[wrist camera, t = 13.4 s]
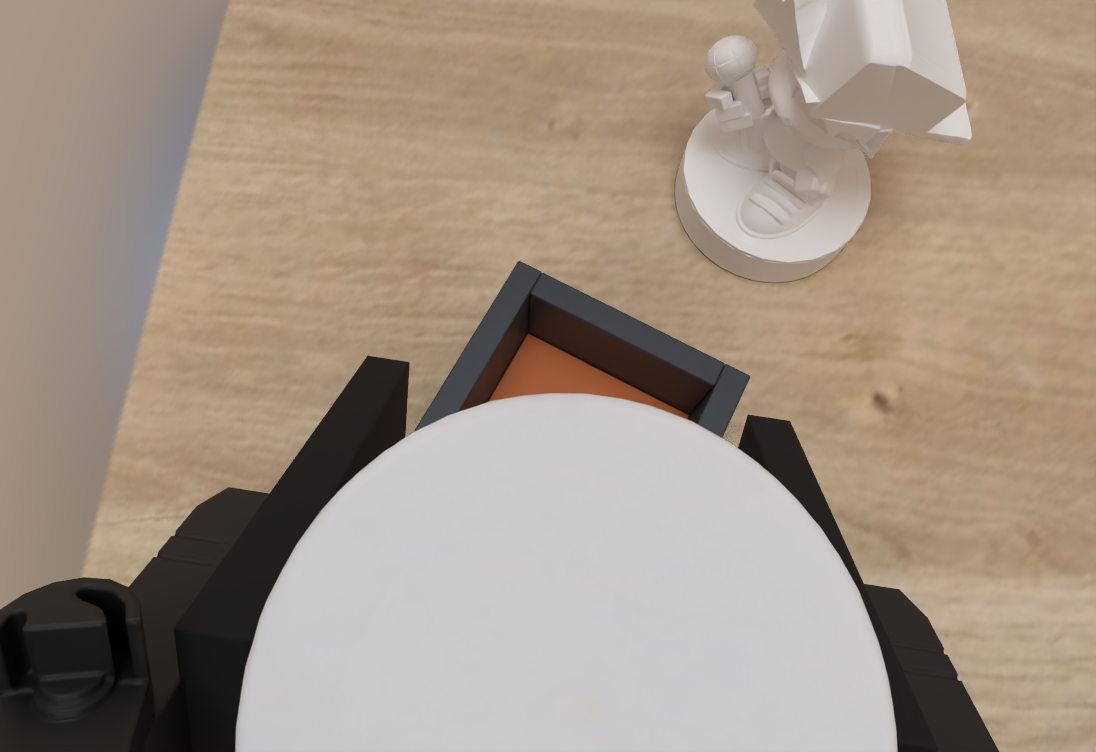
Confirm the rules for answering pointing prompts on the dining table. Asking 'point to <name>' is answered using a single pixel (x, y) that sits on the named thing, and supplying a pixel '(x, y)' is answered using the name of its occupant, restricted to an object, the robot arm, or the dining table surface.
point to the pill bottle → (564, 599)
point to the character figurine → (812, 128)
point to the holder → (582, 357)
